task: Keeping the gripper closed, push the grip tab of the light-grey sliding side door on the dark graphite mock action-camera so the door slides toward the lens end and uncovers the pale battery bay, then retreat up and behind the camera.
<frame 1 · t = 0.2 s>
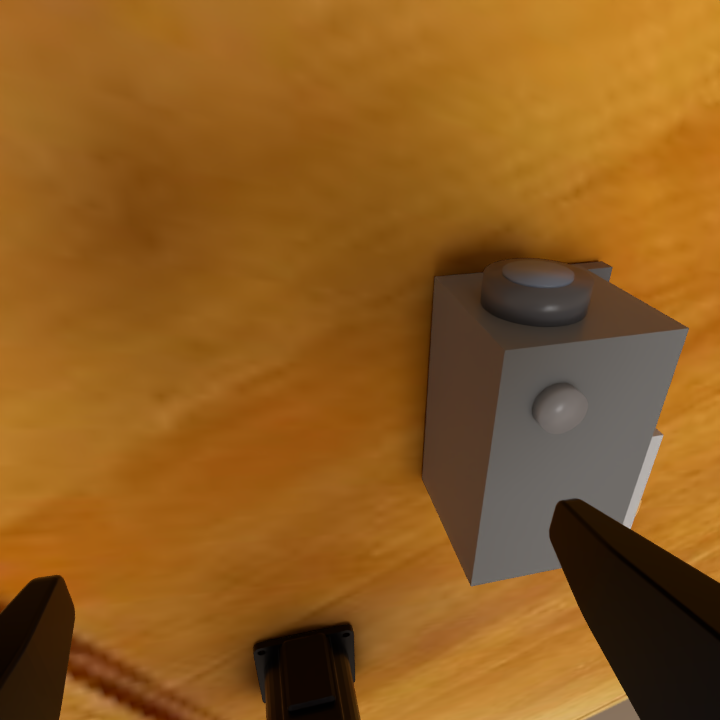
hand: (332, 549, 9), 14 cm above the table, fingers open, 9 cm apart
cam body: (492, 381, 27), on the table
side door: (611, 452, 26), point 4 cm above the table, slide at 0.0 cm
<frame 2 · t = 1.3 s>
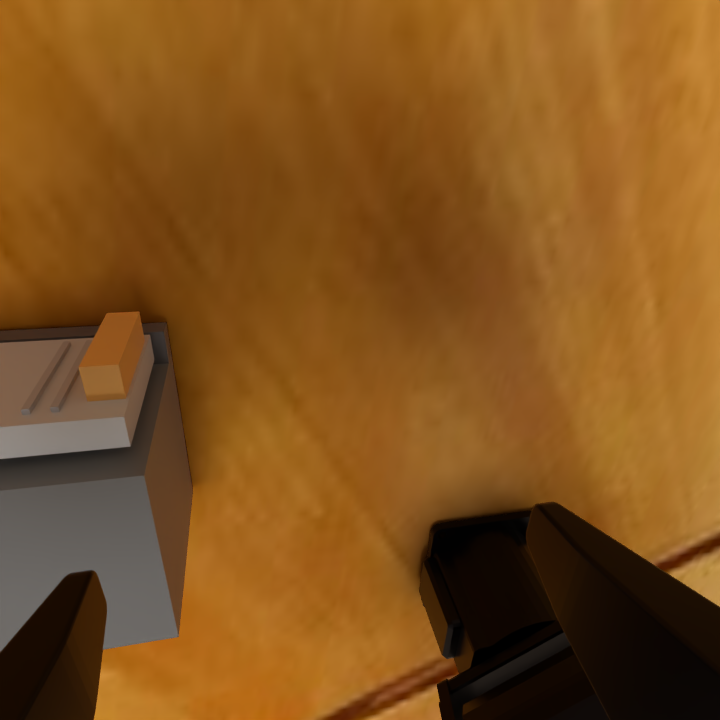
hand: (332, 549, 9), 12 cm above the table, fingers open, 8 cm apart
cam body: (23, 441, 20), on the table
side door: (30, 376, 15), point 4 cm above the table, slide at 0.0 cm
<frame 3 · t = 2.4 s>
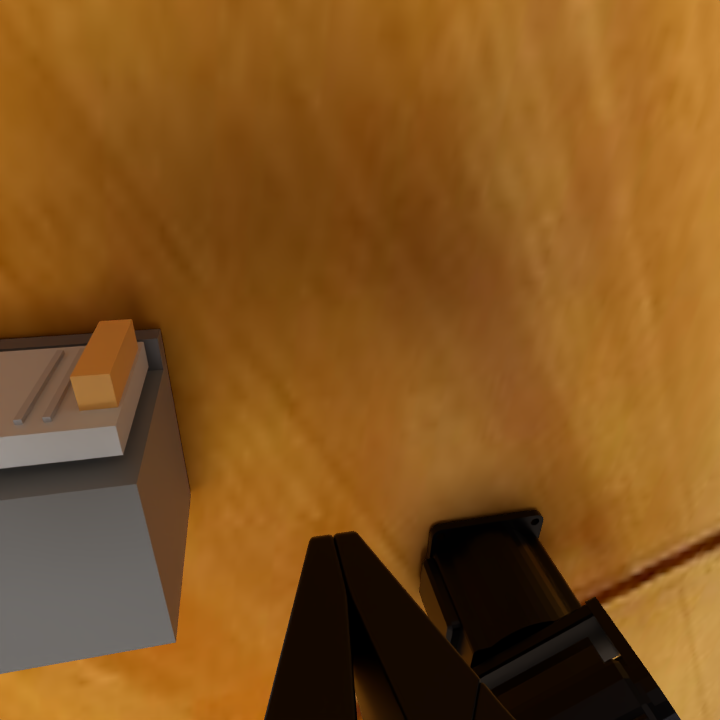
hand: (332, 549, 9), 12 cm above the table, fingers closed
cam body: (20, 449, 20), on the table
side door: (23, 385, 15), point 4 cm above the table, slide at 0.0 cm
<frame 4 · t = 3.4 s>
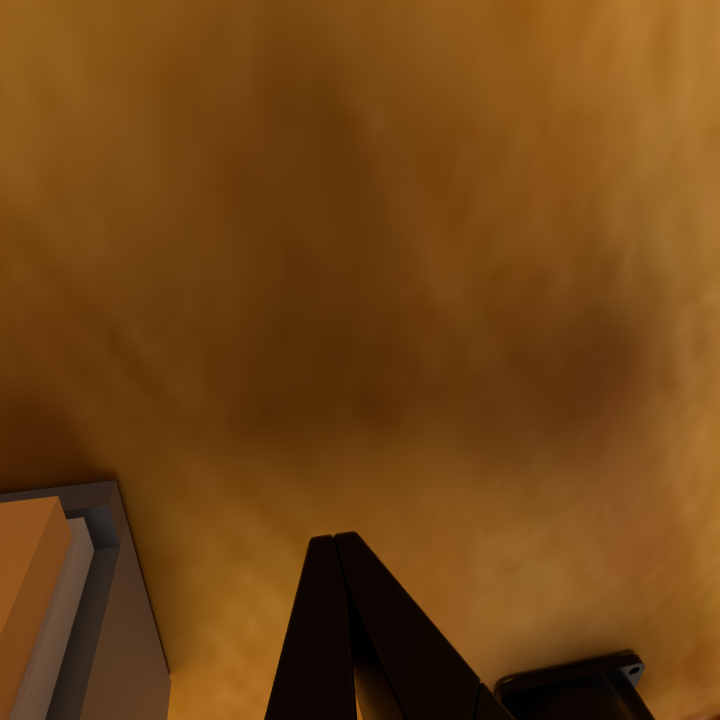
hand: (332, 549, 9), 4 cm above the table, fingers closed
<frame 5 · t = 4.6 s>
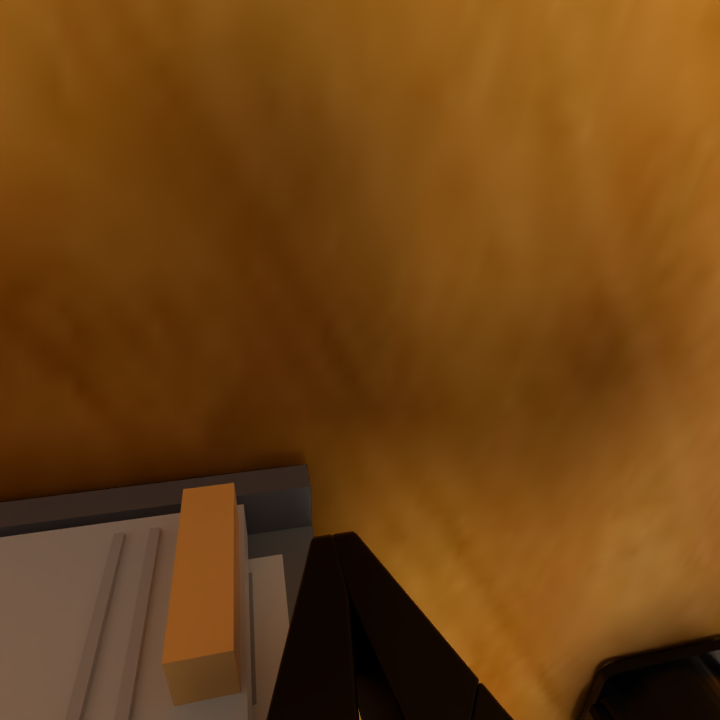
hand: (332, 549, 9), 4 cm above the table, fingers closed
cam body: (94, 627, 14), on the table
side door: (67, 630, 9), point 4 cm above the table, slide at 1.2 cm, touching gripper
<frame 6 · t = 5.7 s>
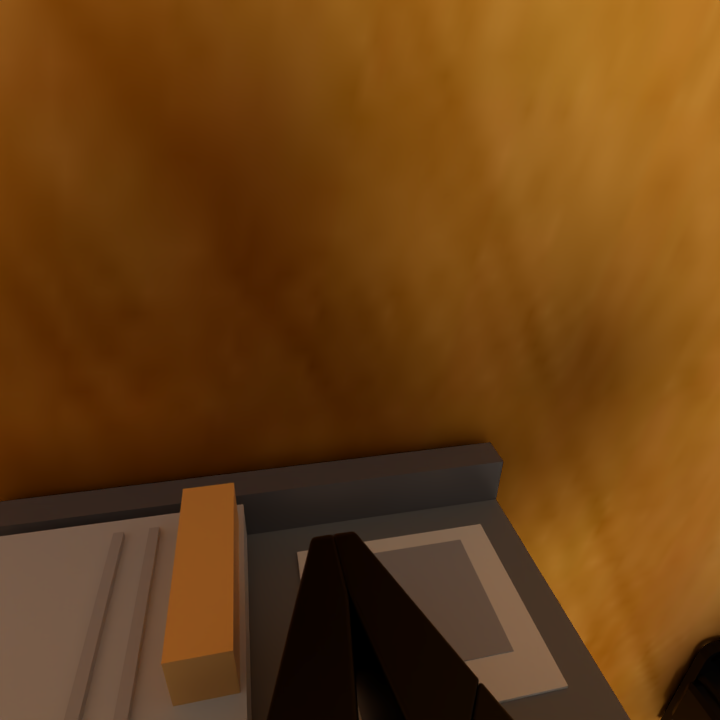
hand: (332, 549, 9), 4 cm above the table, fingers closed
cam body: (275, 596, 15), on the table
side door: (66, 630, 9), point 4 cm above the table, slide at 6.1 cm, touching gripper
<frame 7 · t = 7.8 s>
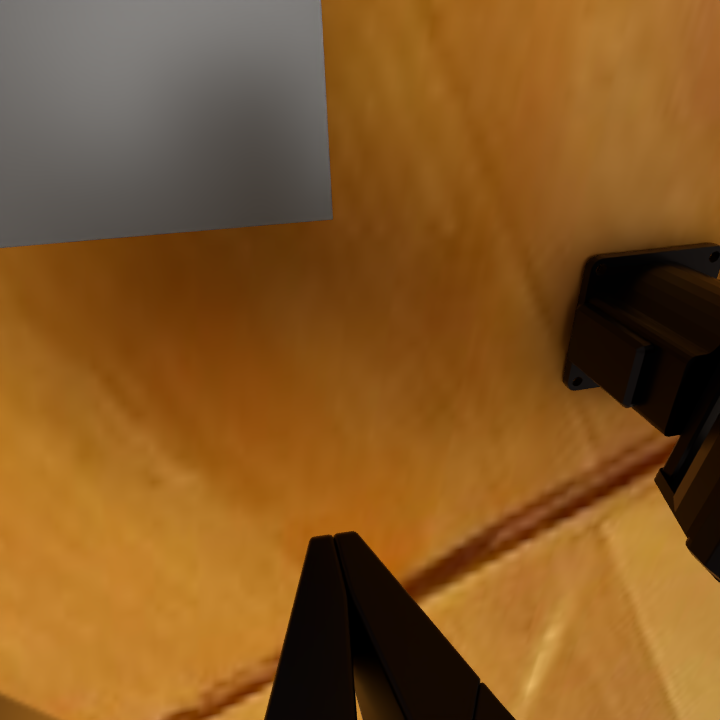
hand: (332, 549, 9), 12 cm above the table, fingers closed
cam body: (73, 51, 15), on the table
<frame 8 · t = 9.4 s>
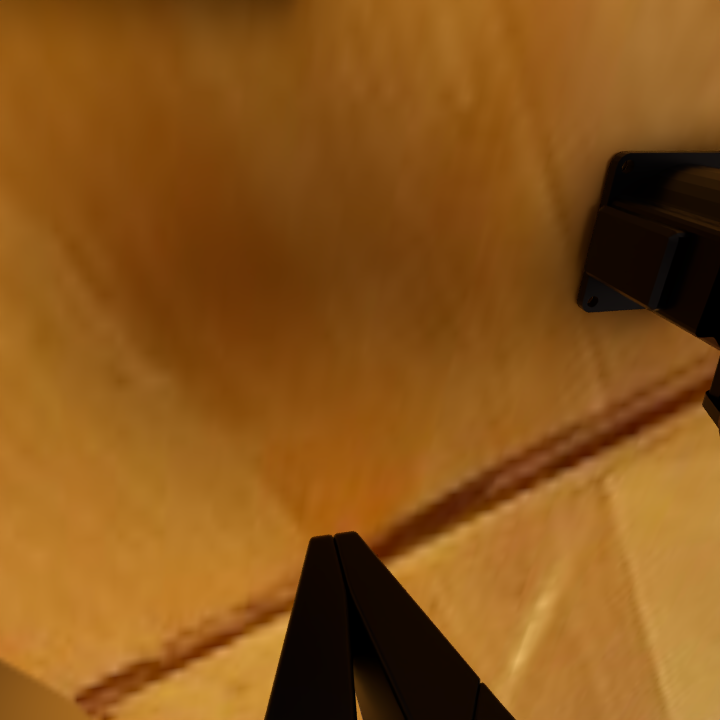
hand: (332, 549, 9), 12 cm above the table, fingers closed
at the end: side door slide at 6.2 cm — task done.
